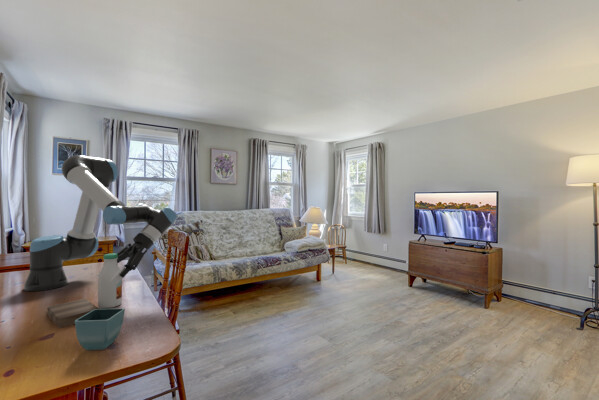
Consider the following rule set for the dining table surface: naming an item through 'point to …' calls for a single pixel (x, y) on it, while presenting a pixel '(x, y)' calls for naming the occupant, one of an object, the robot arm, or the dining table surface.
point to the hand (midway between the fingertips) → (106, 280)
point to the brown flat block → (69, 312)
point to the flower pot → (99, 328)
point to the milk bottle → (109, 283)
